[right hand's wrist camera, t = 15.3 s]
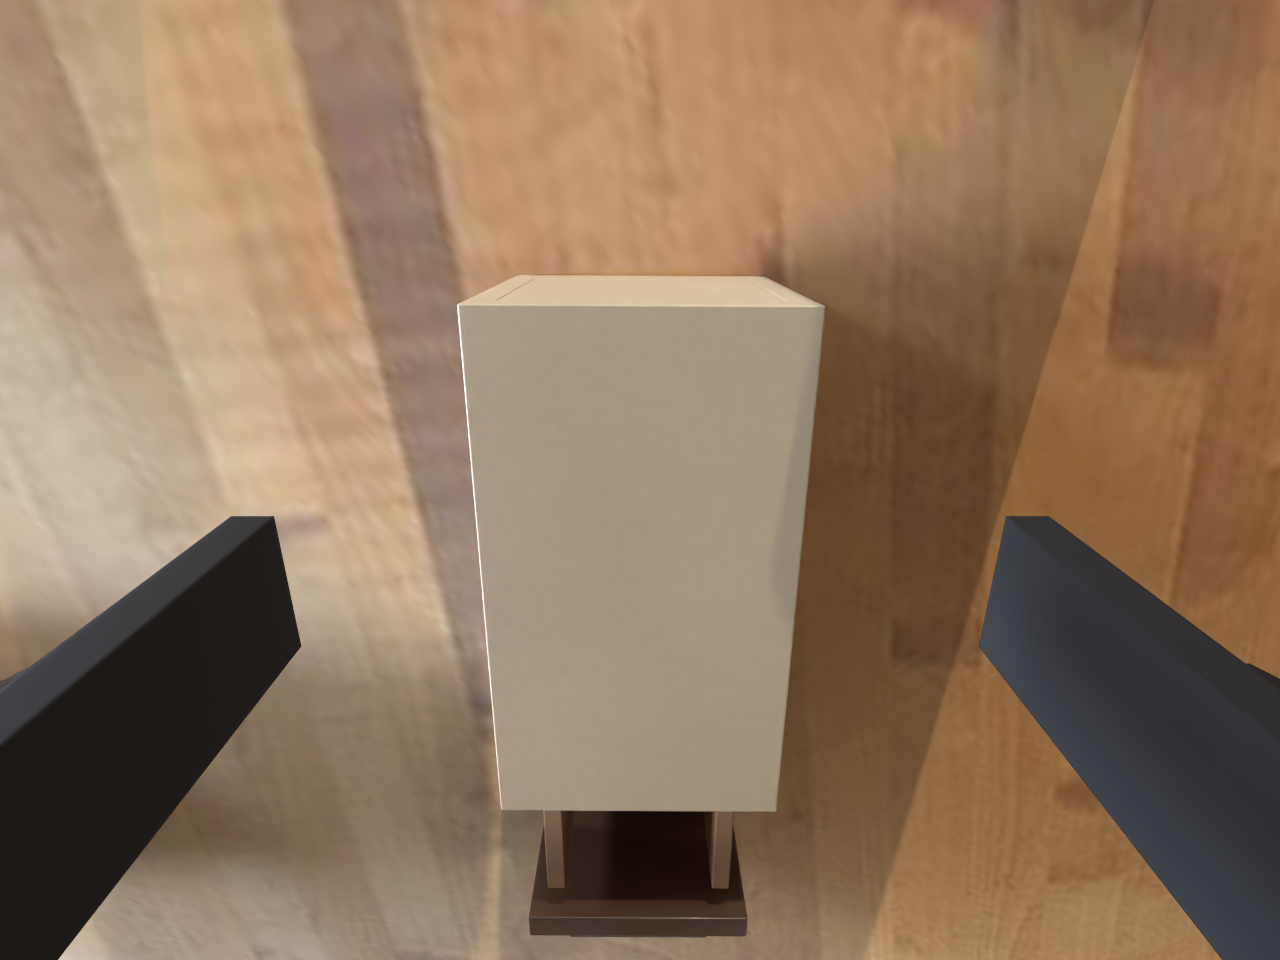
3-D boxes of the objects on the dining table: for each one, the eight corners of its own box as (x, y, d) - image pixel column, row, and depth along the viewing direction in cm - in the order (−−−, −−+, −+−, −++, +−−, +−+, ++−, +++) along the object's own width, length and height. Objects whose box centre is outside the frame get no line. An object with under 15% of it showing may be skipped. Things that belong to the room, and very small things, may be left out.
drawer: (720, 854, 43) (739, 1011, 35) (556, 853, 43) (535, 1010, 35) (743, 489, 34) (776, 578, 26) (537, 488, 34) (503, 577, 26)
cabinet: (740, 653, 39) (776, 812, 29) (538, 652, 39) (500, 811, 29) (765, 276, 32) (826, 305, 21) (517, 275, 32) (456, 303, 21)
